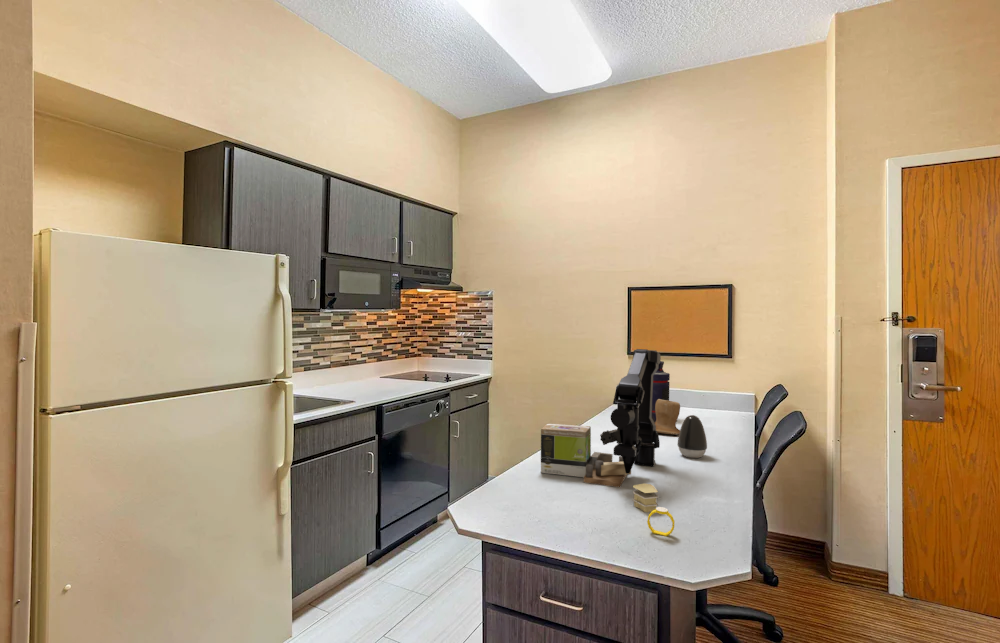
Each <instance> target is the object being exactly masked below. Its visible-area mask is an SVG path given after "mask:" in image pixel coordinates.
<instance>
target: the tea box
mask: <svg viewBox="0 0 1000 643" xmlns="http://www.w3.org/2000/svg"><path fill="white" fill-rule="evenodd" d="M591 429H592V428H591V426H590V425H576V424H575V425H573V424H564V423H563V424H562V423H547V424H545V425H544V426H543V427H542V428H540V473H541V474H550V475H557V476H558V475H559V476H560V475H561V476H566V477H567V476H569V477H578V478H584V476H585V475H586V465H588V464H590V459H591V456H592V451H591V449H592V447H591V446H592V443H591V442H592V440H591V438H592V437H591V435H592V433H591Z"/></svg>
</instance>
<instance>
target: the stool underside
mask: <svg viewBox="0 0 1000 643" xmlns="http://www.w3.org/2000/svg"><path fill="white" fill-rule="evenodd" d="M618 462H623V458H622V456H618ZM627 475H628V474H622V475H604V476H597V475H596V470H594V469H593V465H590V464H588V465H586V475H585V476H584V477H583V483H587V484H593V485H594V484H595V485H601V486H608V487H613V488H621V487H622V484H623V482H624V480H625V478H626V477H627Z"/></svg>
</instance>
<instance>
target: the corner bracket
mask: <svg viewBox="0 0 1000 643" xmlns="http://www.w3.org/2000/svg"><path fill="white" fill-rule="evenodd" d="M613 454H614V453H607V452H599V451H594V452H593V453H591V459H590V465H593V469H594V470H596V461H597V460H600V461H603V462H613V458H614V457H613Z"/></svg>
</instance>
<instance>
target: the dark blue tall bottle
mask: <svg viewBox="0 0 1000 643" xmlns="http://www.w3.org/2000/svg"><path fill="white" fill-rule="evenodd" d="M664 364H665V362H664V361H663V360H662V361H661V360H660V364H659V366H658V370H657V371H656V373H655V374H654V375H653V393H652V419H653V421H654V423H655V422H656V412H655V404H656V401H657V400H658V399H661V400H667V401H670V373H669V372H666V371H665V370H664V369H663V368H664Z"/></svg>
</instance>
